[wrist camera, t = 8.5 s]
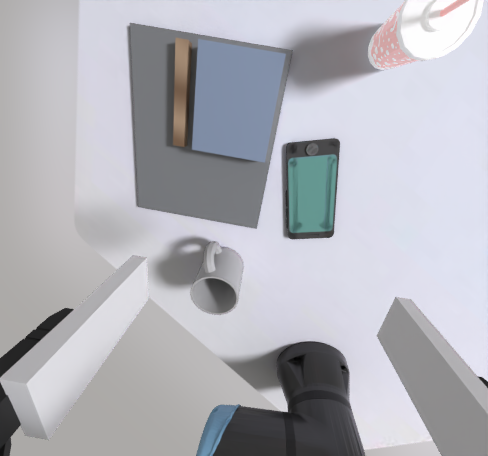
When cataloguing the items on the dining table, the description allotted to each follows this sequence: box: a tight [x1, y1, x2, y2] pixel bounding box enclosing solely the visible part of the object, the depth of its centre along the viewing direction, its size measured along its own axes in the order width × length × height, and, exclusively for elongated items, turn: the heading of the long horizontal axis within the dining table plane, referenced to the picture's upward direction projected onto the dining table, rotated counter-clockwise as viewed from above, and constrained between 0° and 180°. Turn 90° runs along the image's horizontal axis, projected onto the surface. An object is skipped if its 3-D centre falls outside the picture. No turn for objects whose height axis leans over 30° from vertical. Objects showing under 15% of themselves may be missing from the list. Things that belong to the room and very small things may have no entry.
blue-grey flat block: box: [192, 39, 286, 163], centre depth 29 cm, size 12×2×10 cm
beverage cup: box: [368, 0, 484, 70], centre depth 20 cm, size 6×6×14 cm
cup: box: [190, 241, 244, 315], centre depth 37 cm, size 7×10×9 cm
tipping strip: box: [173, 38, 192, 147], centre depth 30 cm, size 12×2×2 cm, turn 171°
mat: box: [130, 23, 293, 229], centre depth 33 cm, size 24×20×1 cm
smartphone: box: [286, 138, 340, 239], centre depth 35 cm, size 7×1×15 cm
